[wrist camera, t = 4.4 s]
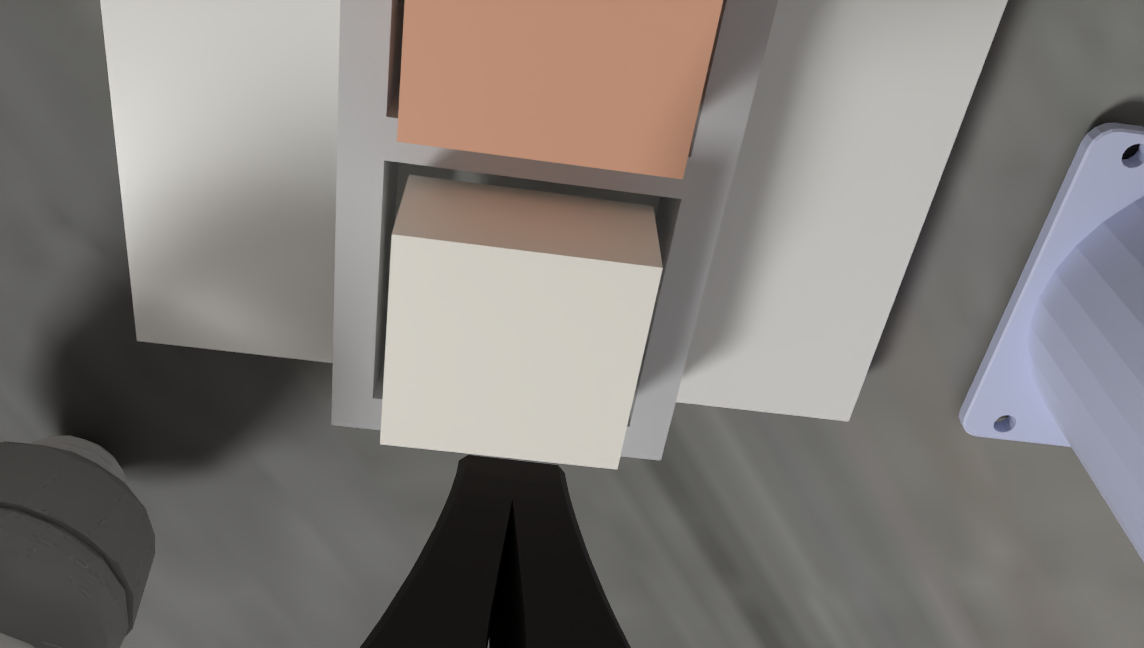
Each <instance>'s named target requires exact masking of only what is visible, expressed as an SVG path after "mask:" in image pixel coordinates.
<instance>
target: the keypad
mask: <svg viewBox="0 0 1144 648" xmlns="http://www.w3.org/2000/svg"><path fill="white" fill-rule="evenodd" d="M1007 1H1008V0H723V4H722V8H721V13H720V17H719V22H718V26H717V31H716V35H715V39H714V44H713V48H712V53H711V57H710V61H709V66H708V70H707V75H706V79H705V84H704V88H703V92H702V97H701V101H700V106H699V110H698V115H697V119H696V123H695V128H694V132H693V137H692V141H691V146H690V150H689V154H688V159H687V163H686V168H685V172H684V177H683V179H676V178H668V177H660V176H653V175H645V174H638V173H630V172H622V171H615V170H607V169H600V168H592V167H585V166H577V165H569V164H562V163H554V162H547V161H539V160H531V159H524V158H516V157H509V156H501V155H493V154H486V153H478V152H471V151H463V150H456V149H448V148H440V147H433V146H425V145H418V144H410V143H402V142H397V129H398V111H399V93H400V75H401V57H402V39H403V21H404V3H405V0H100V2H101V11H102V21H103V30H104V39H105V49H106V58H107V67H108V77H109V86H110V95H111V104H112V114H113V123H114V132H115V142H116V151H117V160H118V170H119V179H120V188H121V198H122V207H123V216H124V226H125V235H126V244H127V253H128V263H129V272H130V281H131V291H132V300H133V309H134V319H135V328H136V337H137V341H142V342H151V343H159V344H168V345H177V346H186V347H195V348H204V349H213V350H221V351H230V352H239V353H248V354H257V355H266V356H274V357H283V358H292V359H301V360H310V361H319V362H327V363H333V371H332V419H331V425H337V426H346V427H356V428H365V429H374V430H381V417H382V399H383V381H384V363H385V345H386V327H387V309H388V291H389V273H390V255H391V237H392V231H393V228H394V225H395V221H396V218H397V214H398V211H399V207H400V204H401V201H402V197H403V194H404V190H405V187H406V183H407V180H408V177H409V174H410V175H417V176H425V177H433V178H441V179H448V180H456V181H464V182H472V183H479V184H487V185H495V186H503V187H510V188H518V189H526V190H533V191H541V192H549V193H557V194H564V195H572V196H580V197H588V198H595V199H603V200H611V201H619V202H626V203H634V204H642V205H649V206H653V208H654V214H655V220H656V227H657V233H658V240H659V246H660V253H661V259H662V266H663V269H662V274H661V278H660V283H659V287H658V292H657V296H656V300H655V305H654V309H653V314H652V318H651V323H650V327H649V331H648V336H647V340H646V345H645V349H644V354H643V358H642V362H641V367H640V371H639V376H638V380H637V385H636V389H635V393H634V398H633V402H632V407H631V411H630V416H629V420H628V424H627V429H626V433H625V438H624V442H623V447H622V451H621V455H620V456H624V457H633V458H642V459H652V460H661V458H662V454H663V450H664V446H665V442H666V438H667V434H668V430H669V426H670V422H671V418H672V414H673V411H674V407H675V403H676V402H681V403H690V404H699V405H708V406H716V407H725V408H734V409H743V410H752V411H761V412H769V413H778V414H787V415H796V416H805V417H814V418H822V419H831V420H840V421H849V419H850V416H851V414H852V411H853V408H854V406H855V403H856V400H857V398H858V395H859V393H860V390H861V387H862V385H863V382H864V379H865V377H866V374H867V371H868V369H869V366H870V363H871V361H872V358H873V356H874V353H875V350H876V348H877V345H878V342H879V340H880V337H881V334H882V332H883V329H884V326H885V324H886V321H887V319H888V316H889V313H890V311H891V308H892V305H893V303H894V300H895V297H896V295H897V292H898V289H899V287H900V284H901V282H902V279H903V276H904V274H905V271H906V268H907V266H908V263H909V260H910V258H911V255H912V252H913V250H914V247H915V244H916V242H917V239H918V237H919V234H920V231H921V229H922V226H923V223H924V221H925V218H926V215H927V213H928V210H929V207H930V205H931V202H932V200H933V197H934V194H935V192H936V189H937V186H938V184H939V181H940V178H941V176H942V173H943V170H944V168H945V165H946V163H947V160H948V157H949V155H950V152H951V149H952V147H953V144H954V141H955V139H956V136H957V133H958V131H959V128H960V126H961V123H962V120H963V118H964V115H965V112H966V110H967V107H968V104H969V102H970V99H971V96H972V94H973V91H974V88H975V86H976V83H977V81H978V78H979V75H980V73H981V70H982V67H983V65H984V62H985V59H986V57H987V54H988V51H989V49H990V46H991V44H992V41H993V38H994V36H995V33H996V30H997V28H998V25H999V22H1000V20H1001V17H1002V14H1003V12H1004V9H1005V7H1006V4H1007Z"/></svg>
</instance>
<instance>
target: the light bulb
mask: <svg viewBox="0 0 1144 648" xmlns="http://www.w3.org/2000/svg"><path fill="white" fill-rule="evenodd" d="M154 555H155V534H154V531H153V528H152V525H151V523H150V520H149V517H148V514H147V511H146V509H145V507H144V506H143V505H142V504H141V502H140V501H139V500H138V499H137V497H136V496H135V495H134V494H133V492H132V491H131V490H130V489H129V487H128V486H127V485H126V478H125V475H124V472H123V470H122V468H121V467H120V465H119V464H118V462H117V461H116V459H115V458H114V456H113V455H111V454H110V453H109V452H108V451H107V450H105V449H104V448H103V447H102V446H100V445H98V444H95V443H93V442H90V441H88V440H85V439H81V438H78V437H74V436H71V435H63V436H49V437H46V438H43V439H40V440H38V441H35V442H32V443H31V444H26V443H15V442H1V443H0V648H120V646H121V644H122V642H123V639H124V638H125V636H126V635H127V634H128V633H129V632H130V631H131V630H132V628H133V625H134V622H135V619H136V615H137V612H138V609H139V605H140V602H141V599H142V595H143V592H144V588H145V585H146V582H147V578H148V575H149V572H150V568H151V565H152V562H153V558H154Z"/></svg>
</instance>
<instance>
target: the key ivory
mask: <svg viewBox="0 0 1144 648" xmlns="http://www.w3.org/2000/svg"><path fill="white" fill-rule="evenodd" d="M662 269H663V266H662V259H661V253H660V246H659V240H658V233H657V227H656V220H655V214H654V208H653V206H649V205H642V204H634V203H626V202H619V201H611V200H603V199H595V198H588V197H580V196H572V195H564V194H557V193H549V192H541V191H533V190H526V189H518V188H510V187H503V186H495V185H487V184H479V183H472V182H464V181H456V180H448V179H441V178H433V177H425V176H417V175H410V174H409V177H408V180H407V183H406V187H405V190H404V194H403V197H402V201H401V204H400V207H399V211H398V214H397V218H396V221H395V225H394V228H393V231H392V237H391V255H390V273H389V291H388V309H387V327H386V345H385V363H384V381H383V399H382V417H381V435H380V444H384V445H393V446H402V447H412V448H421V449H430V450H440V451H449V452H459V453H468V454H477V455H487V456H496V457H505V458H515V459H524V460H533V461H543V462H552V463H561V464H571V465H580V466H589V467H599V468H608V469H618V464H619V460H620V455H621V451H622V447H623V442H624V438H625V433H626V429H627V424H628V420H629V416H630V411H631V407H632V402H633V398H634V393H635V389H636V385H637V380H638V376H639V371H640V367H641V362H642V358H643V354H644V349H645V345H646V340H647V336H648V331H649V327H650V323H651V318H652V314H653V309H654V305H655V300H656V296H657V292H658V287H659V283H660V278H661V274H662Z"/></svg>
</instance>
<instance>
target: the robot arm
mask: <svg viewBox="0 0 1144 648" xmlns="http://www.w3.org/2000/svg"><path fill="white" fill-rule="evenodd" d="M1134 144H1140V146H1139V150H1138V151H1137V152H1136V154H1135V155H1134V156H1132V157H1130V158H1128V159H1123V160H1122V155H1123V153H1124V152H1125V151H1126V149H1127V148H1129V147H1130V146H1132V145H1134ZM1005 415H1009V416H1008V417H1007V418H1006V419H1005V420H1003V421H1000V422H995V421H996V420H997V419H998V418H999V417H1001V416H1005ZM959 419H960V421H961V424H962V426H963V428H964V430H965V431H966V432H968V433H969V434H971V435H974V436H979V437H988V438H996V439H1005V440H1014V441H1023V442H1032V443H1041V444H1049V445H1058V446H1067V447H1072V448H1073V450H1074V452H1075V453H1076V455H1077V456H1078V458H1079V460H1080V461H1081V463H1082V464H1083V466H1084V468H1085V469H1086V471H1087V472H1088V474H1089V476H1090V477H1091V479H1092V480H1093V482H1094V484H1095V485H1096V487H1097V488H1098V490H1099V492H1100V493H1101V495H1102V496H1103V498H1104V500H1105V501H1106V503H1107V504H1108V506H1109V507H1110V509H1111V511H1112V512H1113V514H1114V515H1115V517H1116V519H1117V520H1118V522H1119V523H1120V525H1121V527H1122V528H1123V530H1124V531H1125V533H1126V535H1127V536H1128V538H1129V539H1130V541H1131V543H1132V544H1133V546H1134V547H1135V549H1136V551H1137V552H1138V554H1139V555H1140V557H1141V559H1142V560H1143V562H1144V127H1142V126H1135V125H1128V124H1121V123H1104V124H1102V125H1099V126H1097V127H1095V128H1093V129H1092V130H1091V131H1090V132H1088V133H1087V134H1086V136H1085V137H1084V139H1083V140H1082V142H1081V143H1080V146H1079V148H1078V150H1077V152H1076V154H1075V157H1074V159H1073V161H1072V163H1071V166H1070V168H1069V170H1068V172H1067V174H1066V177H1065V179H1064V181H1063V183H1062V185H1061V188H1060V190H1059V192H1058V194H1057V197H1056V199H1055V201H1054V203H1053V205H1052V208H1051V210H1050V212H1049V214H1048V216H1047V219H1046V221H1045V223H1044V225H1043V228H1042V230H1041V232H1040V234H1039V236H1038V239H1037V241H1036V243H1035V245H1034V247H1033V250H1032V252H1031V254H1030V256H1029V259H1028V261H1027V263H1026V265H1025V267H1024V270H1023V272H1022V274H1021V276H1020V278H1019V281H1018V283H1017V285H1016V287H1015V290H1014V292H1013V294H1012V296H1011V298H1010V301H1009V303H1008V305H1007V307H1006V309H1005V312H1004V314H1003V316H1002V318H1001V321H1000V323H999V325H998V327H997V329H996V332H995V334H994V336H993V338H992V340H991V343H990V345H989V347H988V349H987V352H986V354H985V356H984V358H983V360H982V363H981V365H980V367H979V369H978V371H977V374H976V376H975V378H974V380H973V383H972V385H971V387H970V389H969V391H968V394H967V396H966V398H965V400H964V402H963V405H962V407H961V409H960V413H959ZM488 640H489V648H631V647H630V645H629V644H628V642H627V640H626V638H625V635H624V633H623V631H622V629H621V627H620V625H619V623H618V621H617V619H616V617H615V615H614V613H613V611H612V609H611V606H610V604H609V602H608V600H607V598H606V595H605V593H604V591H603V588H602V586H601V583H600V581H599V579H598V576H597V574H596V571H595V569H594V567H593V564H592V562H591V559H590V557H589V554H588V551H587V549H586V546H585V543H584V541H583V538H582V535H581V532H580V529H579V526H578V523H577V520H576V517H575V513H574V510H573V507H572V503H571V499H570V496H569V492H568V487H567V483H566V478H565V473H564V472H563V470H562V469H561V468H560V467H559V466H558V465H551V464H542V463H534V462H525V461H516V460H508V459H499V458H490V457H481V456H473V455H468V456H466V457H464V458H463V459H461V460H459V463H458V468H457V473H456V476H455V479H454V483H453V486H452V489H451V491H450V494H449V496H448V499H447V501H446V504H445V506H444V508H443V510H442V513H441V515H440V517H439V519H438V521H437V523H436V526H435V528H434V529H433V531H432V533H431V535H430V537H429V539H428V541H427V543H426V544H425V546H424V548H423V550H422V552H421V554H420V556H419V558H418V559H417V561H416V563H415V565H414V567H413V568H412V570H411V572H410V573H409V575H408V577H407V578H406V580H405V581H404V583H403V585H402V586H401V588H400V589H399V591H398V592H397V594H396V596H395V597H394V599H393V600H392V602H391V603H390V605H389V607H388V608H387V610H386V611H385V613H384V614H383V616H382V617H381V619H380V620H379V622H378V623H377V625H376V626H375V627H374V629H373V630H372V632H371V633H370V635H369V636H368V637H367V639H366V640H365V641H364V643H363V644H362V646H361V647H360V648H487V646H488Z"/></svg>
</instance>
